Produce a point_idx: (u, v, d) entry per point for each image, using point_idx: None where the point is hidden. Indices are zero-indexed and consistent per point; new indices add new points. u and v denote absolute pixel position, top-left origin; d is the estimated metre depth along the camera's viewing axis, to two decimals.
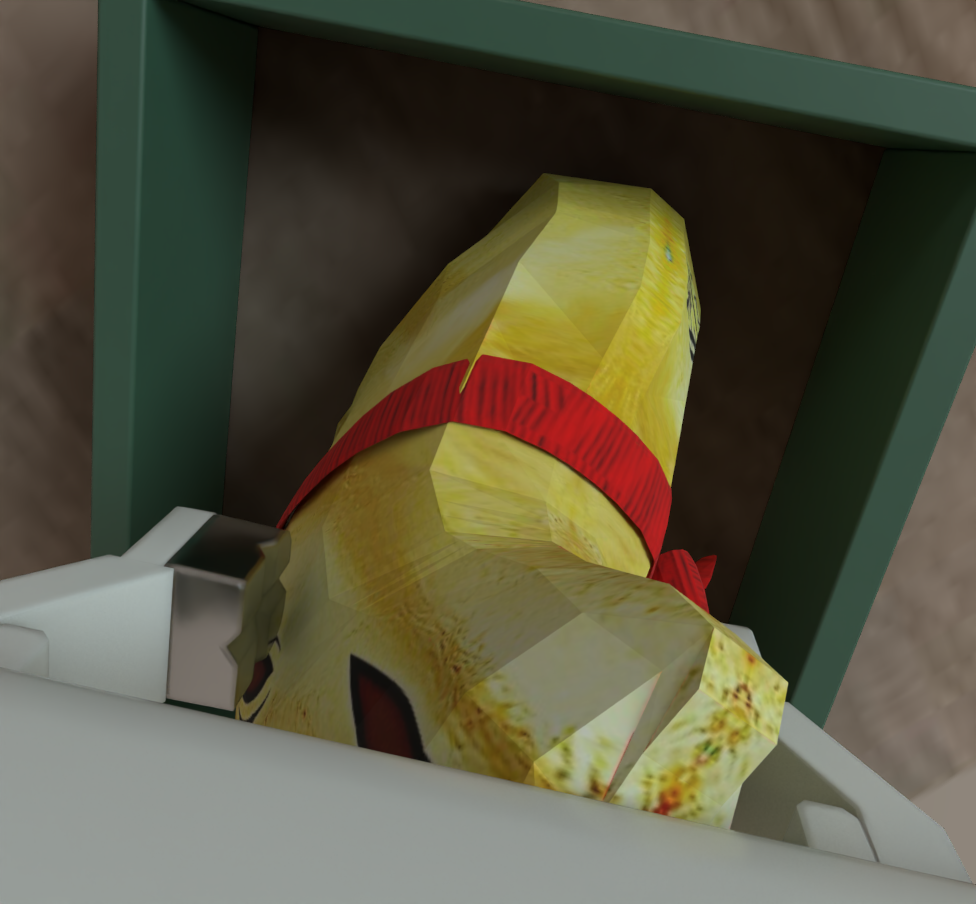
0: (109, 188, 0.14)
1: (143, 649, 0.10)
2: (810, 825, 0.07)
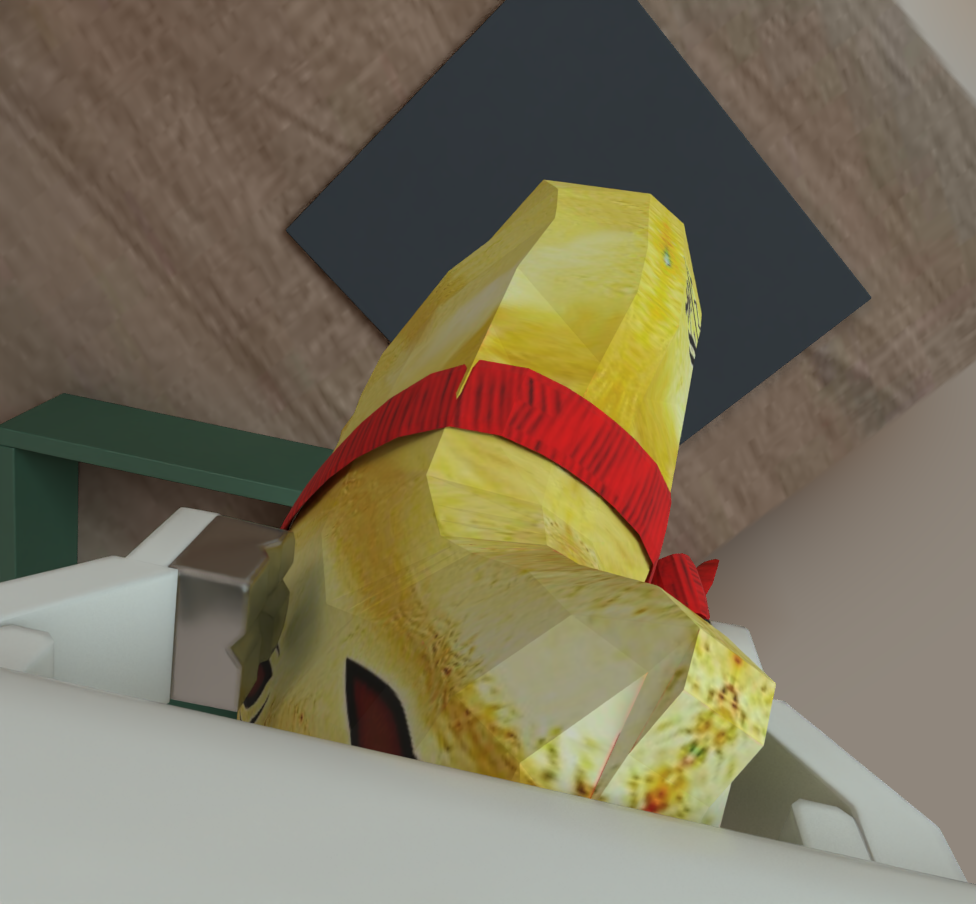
0: (3, 511, 0.36)
1: (147, 650, 0.10)
2: (805, 823, 0.07)
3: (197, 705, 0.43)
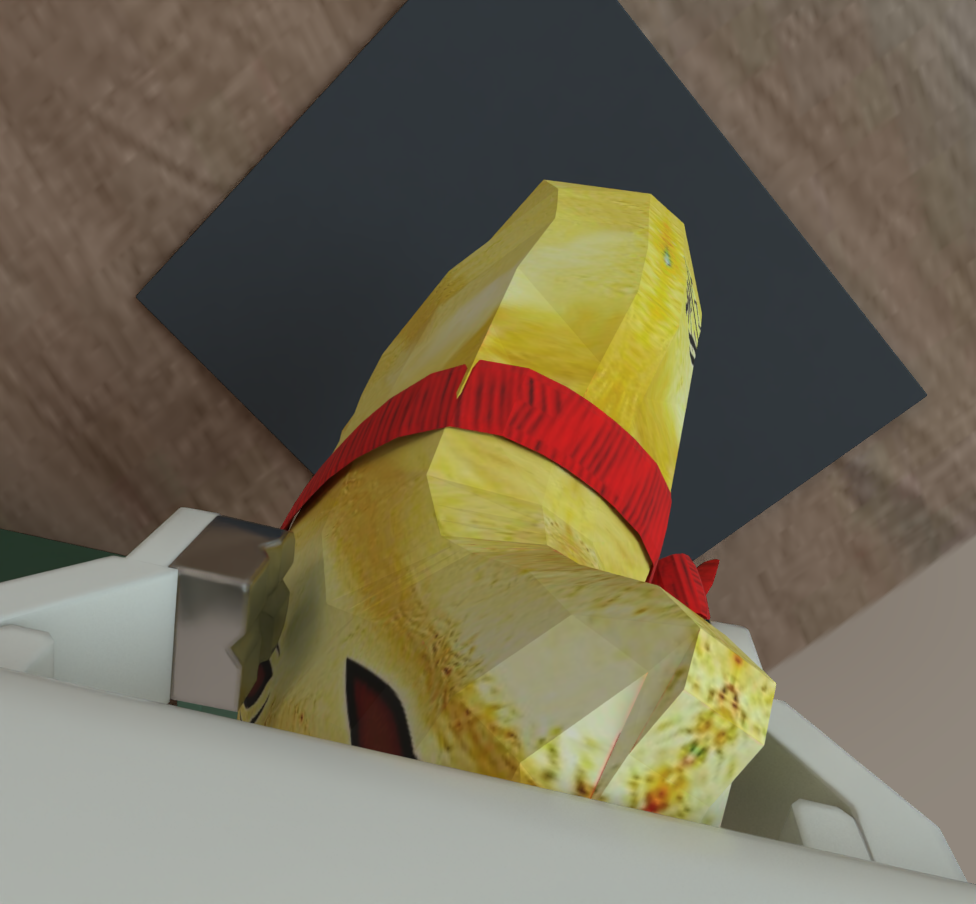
0: None
1: (148, 650, 0.10)
2: (805, 824, 0.07)
3: None
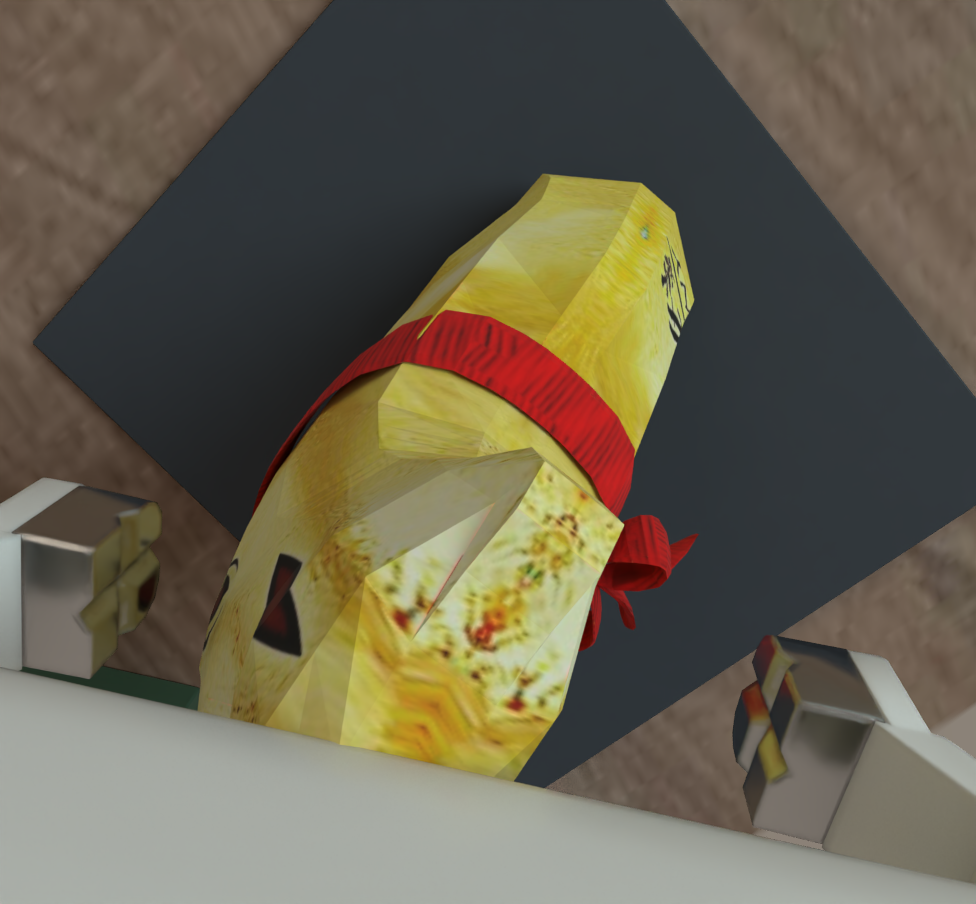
0: None
1: None
2: None
3: None
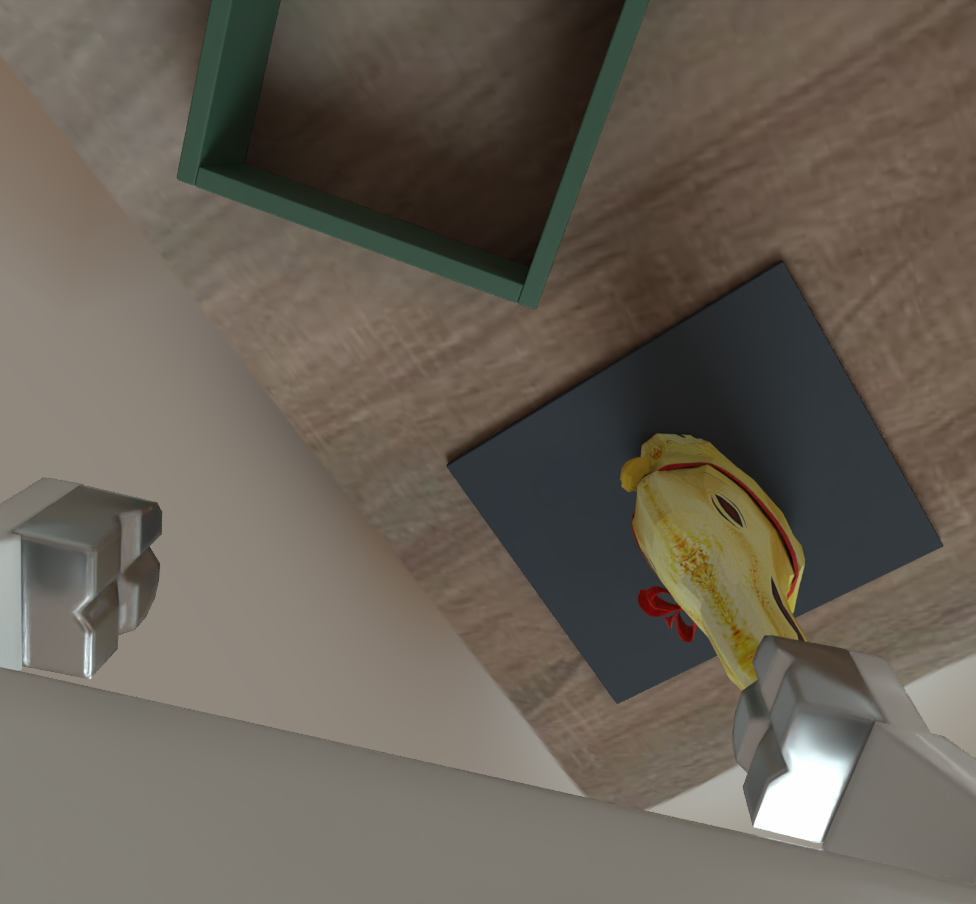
0: None
1: None
2: None
3: (260, 23, 0.35)
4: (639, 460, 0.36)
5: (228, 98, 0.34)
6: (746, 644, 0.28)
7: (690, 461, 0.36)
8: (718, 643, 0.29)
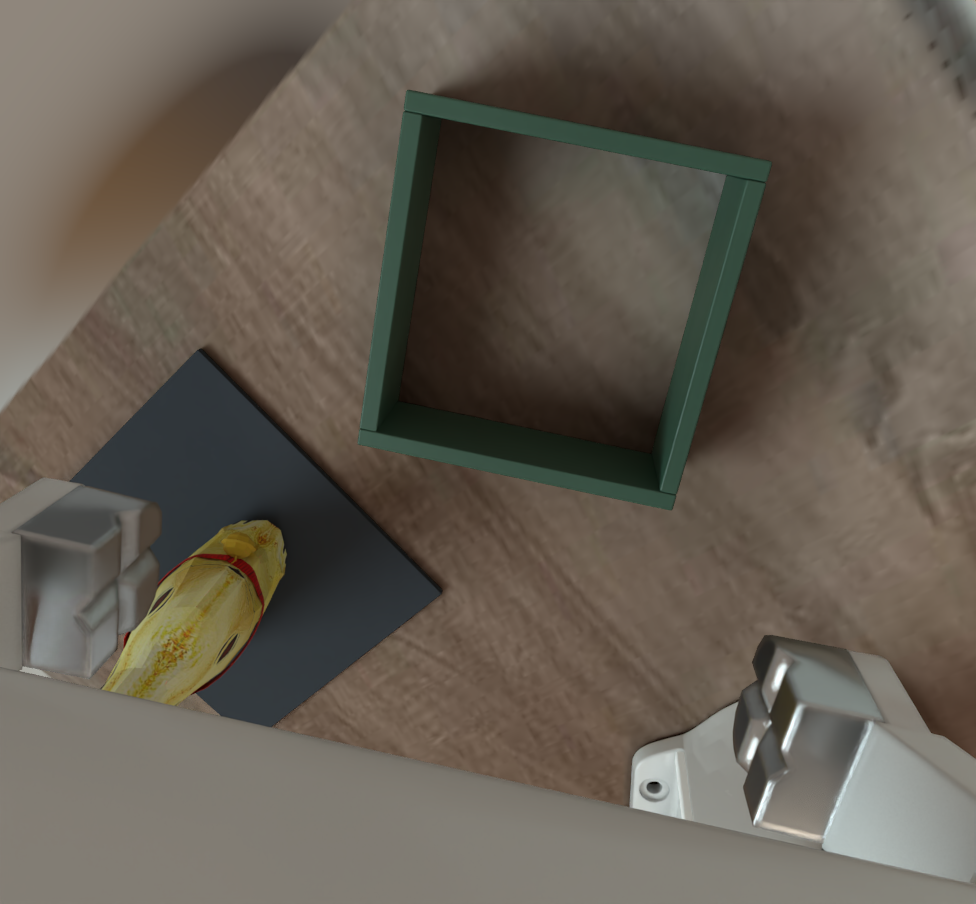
0: (688, 430, 0.37)
1: None
2: None
3: None
4: (250, 547, 0.41)
5: None
6: None
7: (261, 583, 0.42)
8: None
